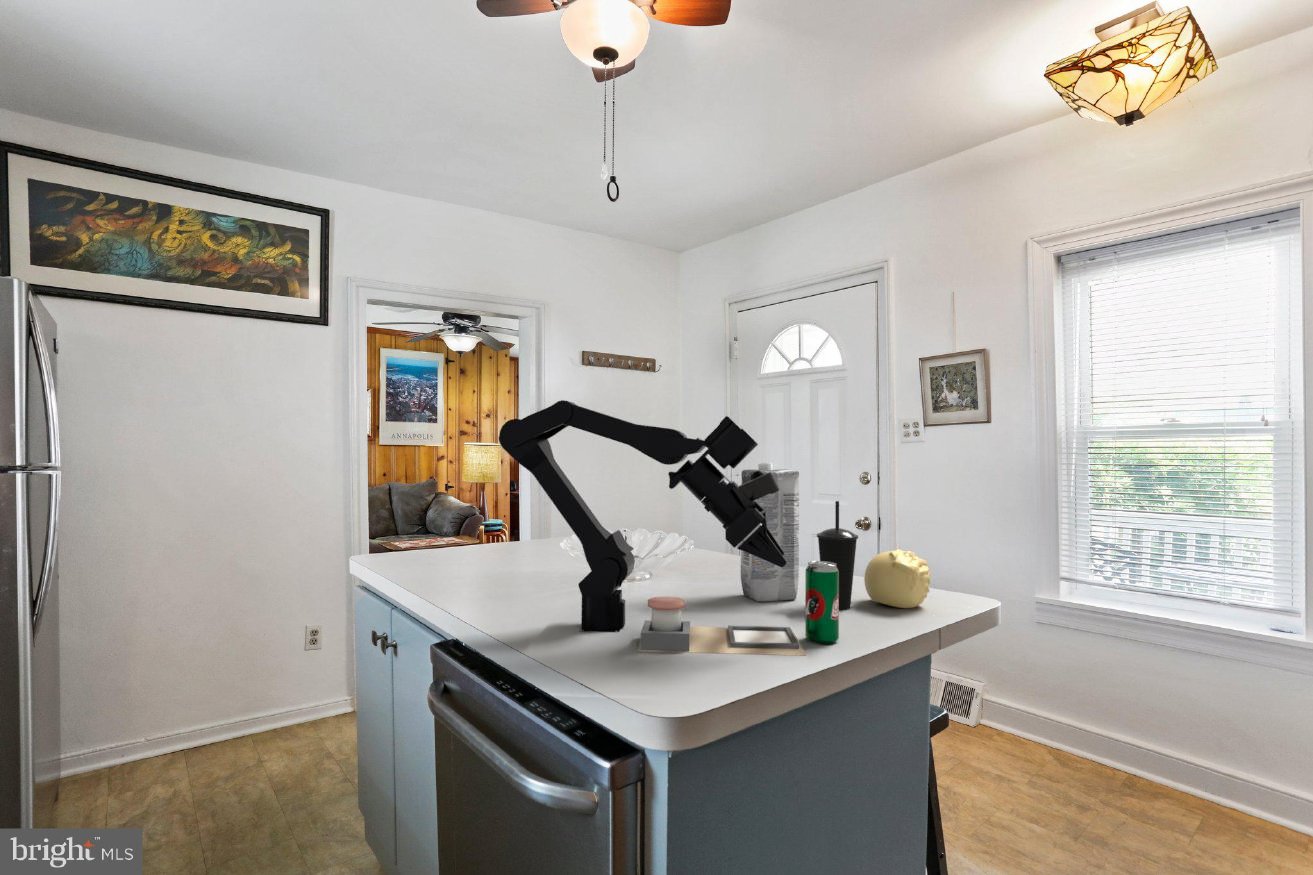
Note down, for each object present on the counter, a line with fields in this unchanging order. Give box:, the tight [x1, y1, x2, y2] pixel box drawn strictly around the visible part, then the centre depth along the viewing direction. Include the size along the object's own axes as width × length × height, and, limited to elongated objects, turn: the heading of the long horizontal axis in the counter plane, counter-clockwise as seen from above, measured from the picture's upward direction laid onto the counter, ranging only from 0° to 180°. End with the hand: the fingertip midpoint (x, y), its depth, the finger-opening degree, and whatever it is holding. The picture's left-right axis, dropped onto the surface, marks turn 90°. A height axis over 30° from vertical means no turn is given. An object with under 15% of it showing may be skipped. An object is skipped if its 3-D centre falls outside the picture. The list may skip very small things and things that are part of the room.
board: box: [636, 625, 807, 657], centre depth 102 cm, size 24×14×1 cm, turn 86°
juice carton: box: [740, 462, 800, 603], centre depth 134 cm, size 9×10×27 cm
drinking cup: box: [816, 500, 859, 611], centre depth 127 cm, size 8×8×20 cm
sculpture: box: [863, 548, 931, 609], centre depth 129 cm, size 11×12×11 cm
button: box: [647, 596, 686, 632], centre depth 100 cm, size 6×6×4 cm
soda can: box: [804, 560, 840, 645], centre depth 104 cm, size 5×5×12 cm
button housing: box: [640, 620, 691, 651], centre depth 99 cm, size 7×7×2 cm
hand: (783, 560), depth 105 cm, fingers open, 9 cm apart
